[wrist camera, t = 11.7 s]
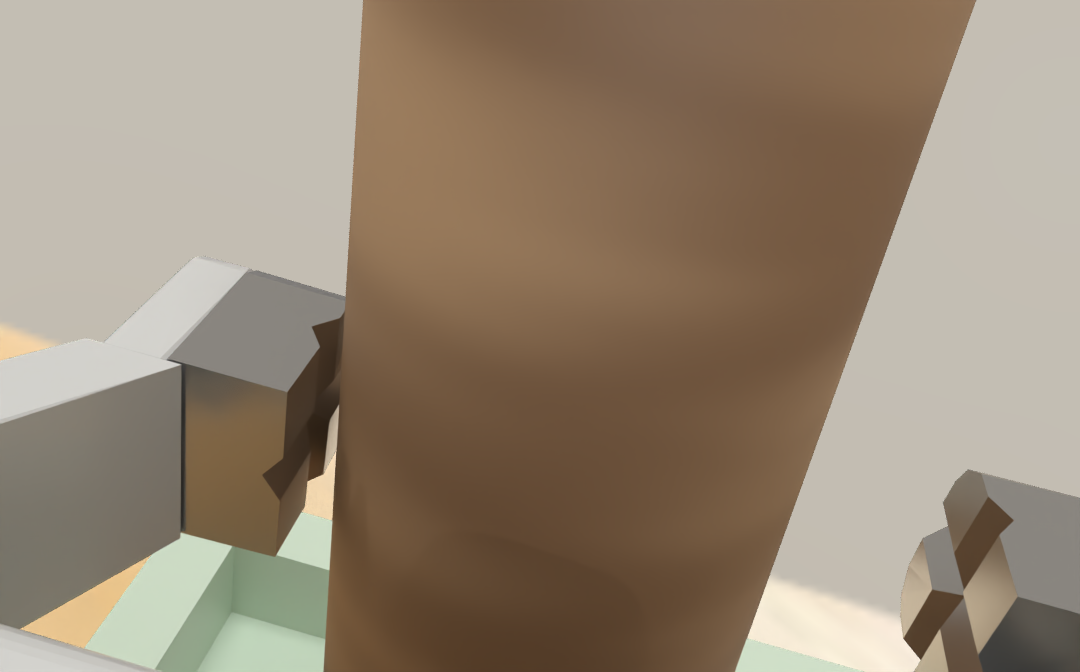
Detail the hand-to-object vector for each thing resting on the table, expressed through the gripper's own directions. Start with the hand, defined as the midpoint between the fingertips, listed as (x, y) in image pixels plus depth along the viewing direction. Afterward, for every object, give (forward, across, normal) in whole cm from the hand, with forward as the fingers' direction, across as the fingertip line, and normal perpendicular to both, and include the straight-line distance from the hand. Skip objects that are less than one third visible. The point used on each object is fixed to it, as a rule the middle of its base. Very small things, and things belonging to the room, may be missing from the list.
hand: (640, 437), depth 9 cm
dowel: (-1, 0, +10) cm, 10 cm away
